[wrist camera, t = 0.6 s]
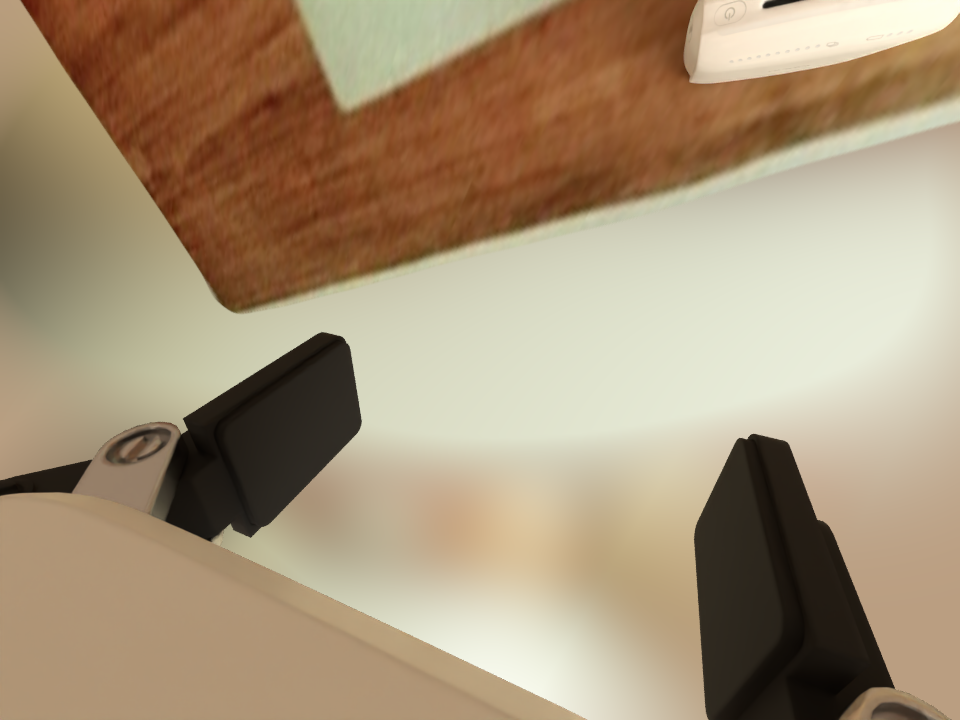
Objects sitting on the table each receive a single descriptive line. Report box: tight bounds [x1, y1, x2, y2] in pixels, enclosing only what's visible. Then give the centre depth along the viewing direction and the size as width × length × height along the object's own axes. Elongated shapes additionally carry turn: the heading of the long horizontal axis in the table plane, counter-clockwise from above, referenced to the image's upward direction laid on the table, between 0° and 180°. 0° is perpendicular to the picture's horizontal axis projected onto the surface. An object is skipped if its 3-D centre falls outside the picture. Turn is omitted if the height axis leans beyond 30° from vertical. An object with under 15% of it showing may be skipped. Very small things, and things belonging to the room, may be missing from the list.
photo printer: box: [684, 0, 960, 84], centre depth 21 cm, size 10×4×12 cm, turn 97°
